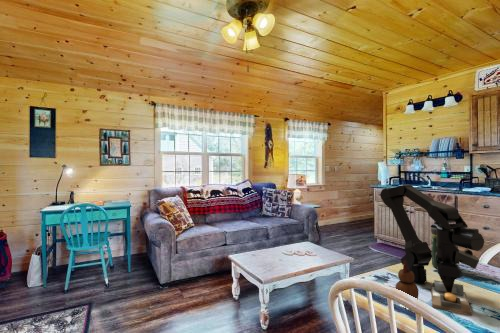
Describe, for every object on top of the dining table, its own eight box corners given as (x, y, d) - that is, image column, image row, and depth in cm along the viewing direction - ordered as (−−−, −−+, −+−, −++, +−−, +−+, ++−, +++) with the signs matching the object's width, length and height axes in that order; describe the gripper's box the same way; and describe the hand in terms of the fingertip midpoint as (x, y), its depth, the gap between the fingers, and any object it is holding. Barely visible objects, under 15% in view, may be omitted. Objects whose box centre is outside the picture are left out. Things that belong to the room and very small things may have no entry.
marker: (431, 291, 96) (431, 281, 96) (431, 287, 99) (430, 278, 99) (463, 297, 91) (463, 286, 91) (462, 293, 94) (462, 283, 94)
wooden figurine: (408, 310, 86) (406, 263, 86) (392, 302, 91) (390, 258, 91) (422, 305, 89) (420, 260, 89) (406, 297, 94) (404, 255, 94)
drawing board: (432, 307, 87) (432, 299, 87) (430, 288, 100) (430, 282, 100) (471, 315, 82) (471, 307, 82) (465, 294, 95) (464, 287, 95)
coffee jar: (455, 272, 114) (454, 228, 114) (433, 269, 118) (431, 227, 118) (451, 264, 123) (450, 224, 123) (431, 262, 127) (429, 222, 127)
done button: (444, 300, 87) (444, 295, 87) (444, 296, 89) (444, 291, 89) (456, 302, 85) (456, 297, 85) (455, 298, 88) (455, 294, 88)
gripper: (481, 253, 82) (483, 304, 82) (471, 238, 98) (473, 281, 98) (437, 248, 88) (438, 296, 88) (434, 235, 104) (436, 275, 104)
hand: (448, 287), depth 94 cm, fingers open, 9 cm apart
